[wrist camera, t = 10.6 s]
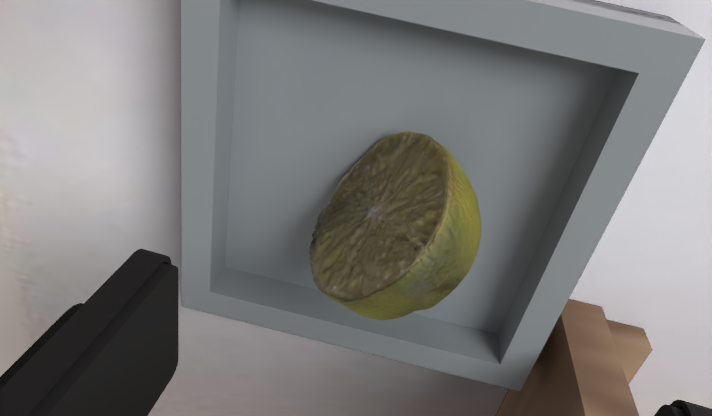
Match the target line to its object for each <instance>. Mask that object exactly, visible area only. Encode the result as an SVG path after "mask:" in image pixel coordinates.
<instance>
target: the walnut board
mask: <svg viewBox="0 0 712 416" xmlns="http://www.w3.org/2000/svg"><path fill="white" fill-rule="evenodd" d="M651 351H652V348H651V345H650V343H649V341H648V338H647V336H646V333H645V331H644V329H642V328H638V327H634V326H630V325H625V324H621V323H617V322H613V321H609V320H606V318H605V315H604V312H603V309H602V307H600V306H595V305H591V304H587V303H583V302H579V301H575V300H571V299H568V301H567V303H566V305H565V307H564V309H563V311H562V313H561V314H560V316H559V318H558V320H557V322H556V324H555V326H554V328H553V330H552V331H551V333H550V335H549V337H548V339H547V341H546V343H545V345H544V347H543V349H542V350H541V352H540V354H539V356H538V358H537V360H536V362H535V364H534V366H533V368H532V369H531V371H530V373H529V375H528V377H527V379H526V381H525V383H524V385H523V386H522V388H521V390H520V392H519V391H515V390H512V389H509V391H508V393H507V395H506V397H505V399H504V401H503V403H502V405H501V407H500V409H499V411H498V413H497V415H496V416H639V414H638V411H637V408H636V406H635V403H634V400H633V397H632V394H631V391H630V388H629V385H628V384H629V383H630V381H631V380H632V379H633V377H634V376H635V374H636V373H637V371H638V370H639V368H640V367H641V365H642V364H643V363H644V361H645V360H646V358H647V357H648V355H649V354H650V352H651Z"/></svg>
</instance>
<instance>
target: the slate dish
mask: <svg viewBox="0 0 712 416" xmlns="http://www.w3.org/2000/svg"><path fill="white" fill-rule="evenodd" d="M704 41H705V39H704V38H703V37H701V36H699V35H698V34H696V33H695V32H693V31H691V30H690V29H688V28H687V27H685V26H683V25H682V24H680V23H679V22H677V21H675V20H674V19H672V18H671V17H669V16H665V15H660V14H655V13H651V12H646V11H642V10H637V9H632V8H628V7H623V6H619V5H614V4H609V3H605V2H600V1H596V0H181V306H182V307H186V308H190V309H194V310H198V311H202V312H206V313H210V314H214V315H218V316H222V317H226V318H230V319H234V320H238V321H242V322H246V323H250V324H254V325H258V326H262V327H266V328H270V329H274V330H278V331H282V332H286V333H289V334H293V335H297V336H301V337H305V338H309V339H313V340H317V341H321V342H325V343H329V344H333V345H337V346H341V347H345V348H349V349H353V350H357V351H361V352H365V353H369V354H373V355H377V356H381V357H385V358H389V359H393V360H397V361H401V362H404V363H408V364H412V365H416V366H420V367H424V368H428V369H432V370H436V371H440V372H444V373H448V374H452V375H456V376H460V377H464V378H468V379H472V380H476V381H480V382H484V383H488V384H492V385H496V386H500V387H504V388H508V389H512V390H515V391H519V392H520V390H521V388H522V386H523V385H524V383H525V381H526V379H527V377H528V375H529V373H530V371H531V369H532V368H533V366H534V364H535V362H536V360H537V358H538V356H539V354H540V352H541V350H542V349H543V347H544V345H545V343H546V341H547V339H548V337H549V335H550V333H551V331H552V330H553V328H554V326H555V324H556V322H557V320H558V318H559V316H560V314H561V313H562V311H563V309H564V307H565V305H566V303H567V301H568V299H569V297H570V295H571V294H572V292H573V290H574V288H575V286H576V284H577V282H578V280H579V278H580V276H581V275H582V273H583V271H584V269H585V267H586V265H587V263H588V261H589V259H590V257H591V256H592V254H593V252H594V250H595V248H596V246H597V244H598V242H599V240H600V239H601V237H602V235H603V233H604V231H605V229H606V227H607V225H608V223H609V221H610V220H611V218H612V216H613V214H614V212H615V210H616V208H617V206H618V204H619V202H620V201H621V199H622V197H623V195H624V193H625V191H626V189H627V187H628V185H629V184H630V182H631V180H632V178H633V176H634V174H635V172H636V170H637V168H638V166H639V165H640V163H641V161H642V159H643V157H644V155H645V153H646V151H647V149H648V147H649V146H650V144H651V142H652V140H653V138H654V136H655V134H656V132H657V130H658V128H659V127H660V125H661V123H662V121H663V119H664V117H665V115H666V113H667V111H668V110H669V108H670V106H671V104H672V102H673V100H674V98H675V96H676V94H677V92H678V91H679V89H680V87H681V85H682V83H683V81H684V79H685V77H686V75H687V73H688V72H689V70H690V68H691V66H692V64H693V62H694V60H695V58H696V56H697V55H698V53H699V51H700V49H701V47H702V45H703V43H704ZM405 131H411V132H416V133H423V134H425V135H428V136H430V137H432V138H433V139H434V140H435V141H437V142H438V143H440V144H441V145H443V146H444V147H445V148H446V149H447V150H448V151H449V152H451V154H452V155H453V156H454V158H455V159H456V161H457V162H458V164H459V165H460V167H461V168H462V169H463V170H464V172H465V173H466V175H467V177H468V180H469V181H470V182H471V185H472V187H473V189H474V191H475V194H476V197H477V199H478V205H479V211H480V216H481V217H480V218H481V227H482V231H481V240H480V244H479V249H478V252H477V254H476V258H475V260H474V263H473V265H472V267H471V269H470V271H469V272H468V274H467V275H466V276H465V278H464V279H463V280H462V282H461V283H460V284H459V285H458V286H457V287H456V289H454V290H453V291H452V292H451V293H450V294H449V295H448V296H447V297H445V298H444V299H442V300H441V301H440V302H439V303H438V304H436V305H435V306H433V307H432V308H429V309H426V310H417V311H413V312H412V313H410V314H408V315H406V316H404V317H401V318H397V319H390V320H375V319H370V318H367V317H364V316H361V315H358V314H357V313H355V312H354V311H352V310H350V309H348V308H346V307H344V306H343V305H341V304H339V303H337V302H335V301H334V300H332V299H330V298H328V297H327V296H326V295H324V294H323V293H322V292H321V291H320V290H319V289H318V287H317V286H316V284H315V282H314V280H313V277H314V275H313V274H312V268H311V260H310V256H311V255H310V253H309V251H310V245H311V242H312V240H313V237H312V234H313V232H314V231H316V229H315V225H316V224H317V219H318V216H319V215H320V213H321V212H322V210H323V208H325V207H327V205H328V204H329V199H330V197H331V196H332V195H333V193H334V192H335V189H336V188H337V186H338V184H339V183H340V181H341V180H342V178H343V177H344V176H345V175H346V174H347V173H348V172H349V171H350V170H351V169H352V167H353V166H354V165H355V164H356V163H357V162H358V161H359V160H360V159H361V158H362V157H363V156H364V155H365V154H366V153H367V152H369V151H370V150H371V149H372V148H373V147H374V145H376V144H377V143H378V142H380V141H381V140H382V139H384V138H386V137H388V136H390V135H392V134H399V133H400V132H402V133H403V132H405Z"/></svg>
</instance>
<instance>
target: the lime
mask: <svg viewBox="0 0 712 416" xmlns="http://www.w3.org/2000/svg"><path fill="white" fill-rule="evenodd" d="M480 217H481V216H480V211H479V205H478V199H477V197H476V194H475V191H474V189H473V187H472V185H471V182H470V181H469V180H468V177H467V175H466V173H465V172H464V170H463V169H462V168H461V167H460V165H459V164H458V162H457V161H456V159H455V158H454V156H453V155H452V154H451V152H449V151H448V150H447V149H446V148H445V147H444V146H443V145H441V144H440V143H438V142H437V141H435V140H434V139H433V138H432V137H430V136H428V135H425V134H423V133H416V132H411V131H405V132H403V133H402V132H400V133H399V134H392V135H390V136H388V137H386V138H384V139H382V140H381V141H380V142H378V143H377V144H376V145H374V147H373V148H372V149H371V150H370V151H369V152H367V153H366V154H365V155H364V156H363V157H362V158H361V159H360V160H359V161H358V162H357V163H356V164H355V165H354V166H353V167H352V169H351V170H350V171H349V172H348V173H347V174H346V175H345V176H344V177H343V178H342V180H341V181H340V183H339V184H338V186H337V188H336V189H335V192H334V193H333V195H332V196H331V197H330V199H329V204H328V205H327V207H325V208H323V210H322V212H321V213H320V215H319V216H318V219H317V224H316V225H315V229H316V231H314V232H313V234H312V237H313V240H312V242H311V245H310V251H309V253H310V255H311V256H310V260H311V268H312V274H313V275H314V277H313V280H314V282H315V284H316V286H317V287H318V289H319V290H320V291H321V292H322V293H323V294H324V295H326V296H327V297H328V298H330V299H332V300H334V301H335V302H337V303H339V304H341V305H343V306H344V307H346V308H348V309H350V310H352V311H354V312H355V313H357V314H358V315H361V316H364V317H367V318H370V319H375V320H390V319H397V318H401V317H404V316H406V315H408V314H410V313H412V312H413V311H417V310H426V309H429V308H432V307H433V306H435V305H436V304H438V303H439V302H440V301H441V300H442V299H444V298H445V297H447V296H448V295H449V294H450V293H451V292H452V291H453V290H454V289H456V287H457V286H458V285H459V284H460V283H461V282H462V280H463V279H464V278H465V276H466V275H467V274H468V272H469V271H470V269H471V267H472V265H473V263H474V260H475V258H476V254H477V252H478V249H479V244H480V240H481V231H482V227H481V218H480Z"/></svg>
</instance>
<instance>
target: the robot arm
mask: <svg viewBox="0 0 712 416" xmlns="http://www.w3.org/2000/svg"><path fill="white" fill-rule="evenodd" d="M177 364H178V268H177V267H176V266H173V265H171V259H170V257H168V256H165V255H162V254H158V253H154V252H151V251H147V250H144V249H139V250H137V251H136V252H134V253H133V254H132V255H131V256H130V257H129V258H128V260H127V261H126V262H125V263H124V264H123V265H122V266H121V267H120V268H119V269H118V270H117V271H116V272H115V273H114V274H113V275H112V276H111V277H110V278H109V279H108V280H107V281H106V282H105V283H104V284H103V285H102V286H101V287H100V288H99V289H98V290H97V291H96V292H95V293H94V294H93V295H92V296H91V297H90V298H89V299H88V300H87V301H86V302H85V303H84V304H82V303H79V304H77V305H74V306H72V307H71V308H70V309H69V310H67V311H66V312H65V313H64V314H63V315H62V316H61V317H60V318H59V319H58V320H57V321H56V322H55V323H54V324H53V325H52V326H51V327H50V328H49V329H48V330H47V331H46V332H45V333H44V334H43V335H42V336H41V337H40V338H39V339H38V340H37V341H36V342H35V343H34V344H33V345H32V346H31V347H30V348H29V349H28V350H27V351H26V352H25V353H24V354H23V355H22V356H21V357H20V358H19V359H18V360H17V361H16V362H15V363H14V364H13V365H12V366H11V367H10V368H9V369H8V370H7V371H6V372H5V373H4V374H3V375H2V376H1V377H0V416H147V415H148V414H149V412H150V411H151V409H152V408H153V406H154V405H155V403H156V401H157V400H158V398H159V397H160V395H161V394H162V392H163V391H164V389H165V388H166V386H167V384H168V383H169V381H170V380H171V378H172V376H173V375H174V372H175V370H176V367H177ZM654 416H712V409H710V408H707V407H703V406H700V405H696V404H692V403H689V402H685V401H682V400H676V401H674V402H673V403H672V404H671V405H670V406H669V405H663V406H662V407H661V408H660V409H659V410H658V411H657V413H656V414H655V415H654Z"/></svg>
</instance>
